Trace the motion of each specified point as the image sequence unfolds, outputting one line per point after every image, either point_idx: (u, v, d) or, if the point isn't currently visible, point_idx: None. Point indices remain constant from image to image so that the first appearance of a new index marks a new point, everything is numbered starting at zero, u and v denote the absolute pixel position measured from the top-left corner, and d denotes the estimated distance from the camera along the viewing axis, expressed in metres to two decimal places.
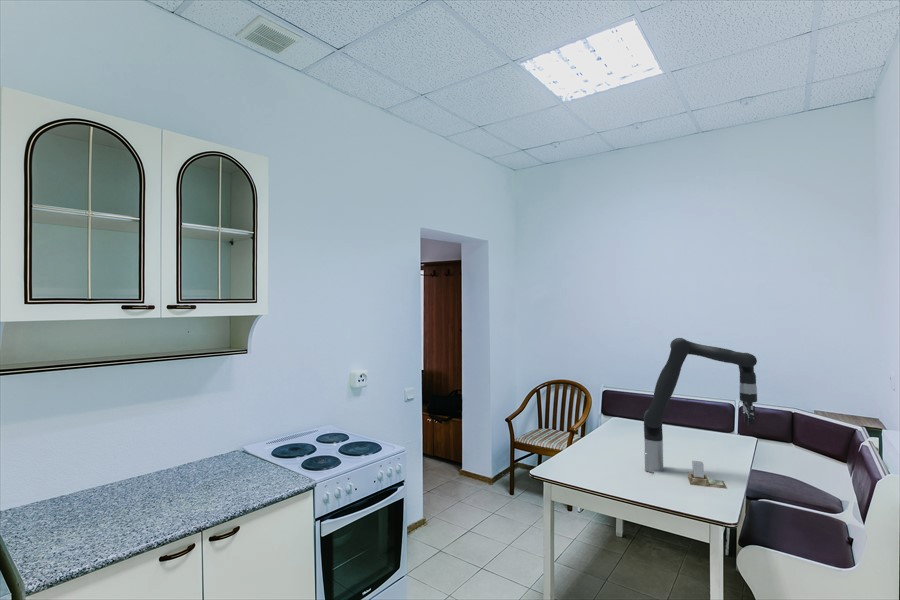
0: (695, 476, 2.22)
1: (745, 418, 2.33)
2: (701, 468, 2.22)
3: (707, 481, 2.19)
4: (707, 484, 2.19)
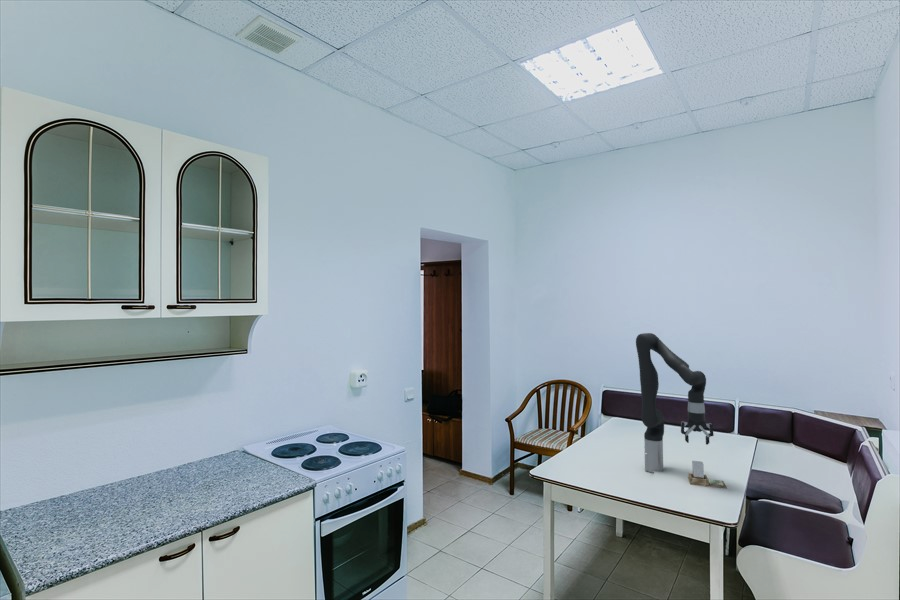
0: (695, 476, 2.22)
1: None
2: (701, 468, 2.22)
3: (707, 481, 2.19)
4: (707, 484, 2.19)
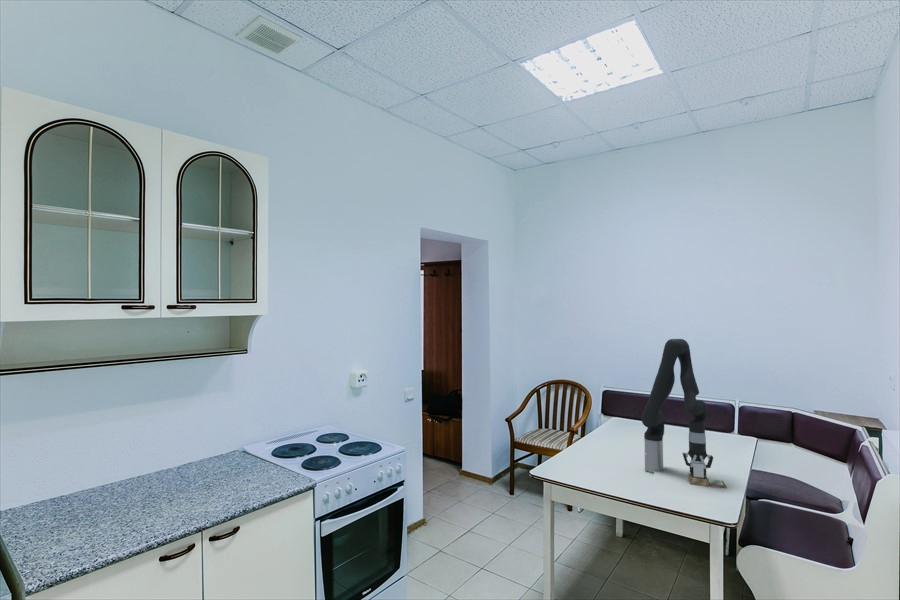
0: (695, 476, 2.22)
1: None
2: (701, 468, 2.22)
3: (707, 481, 2.19)
4: (707, 484, 2.19)
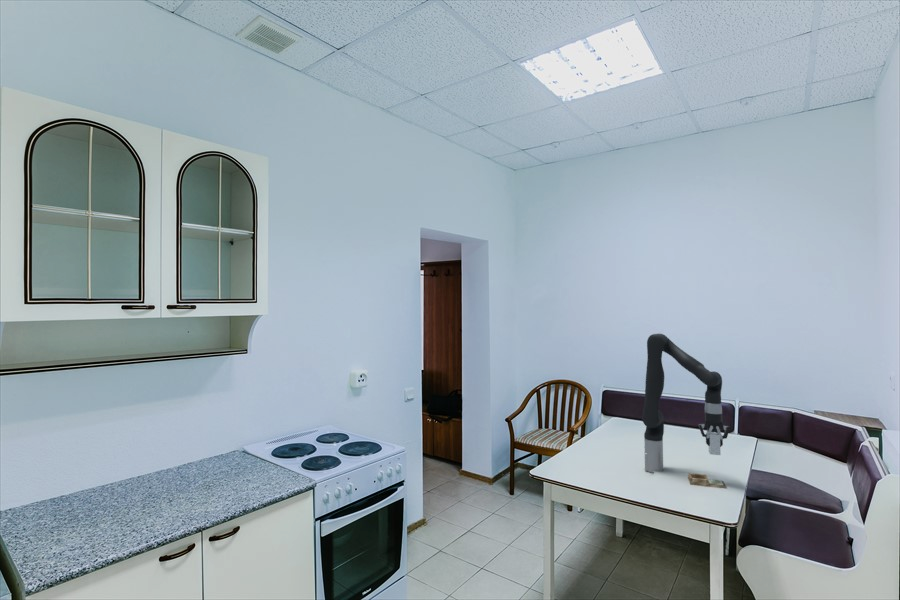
0: (711, 446, 2.23)
1: None
2: (717, 439, 2.22)
3: (707, 481, 2.19)
4: (707, 484, 2.19)
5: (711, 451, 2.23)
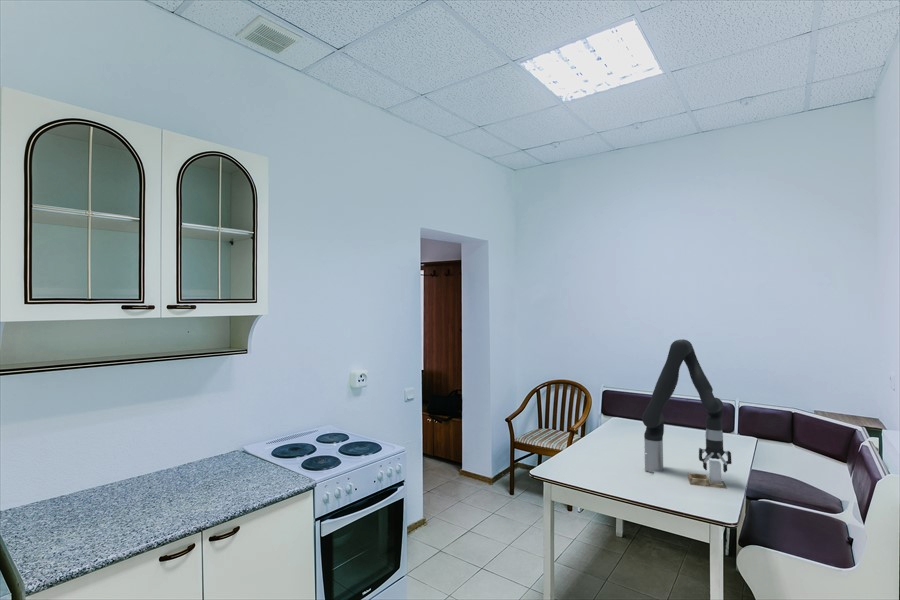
0: (712, 475, 2.22)
1: None
2: (718, 468, 2.21)
3: (707, 481, 2.19)
4: (707, 484, 2.19)
5: (712, 480, 2.22)
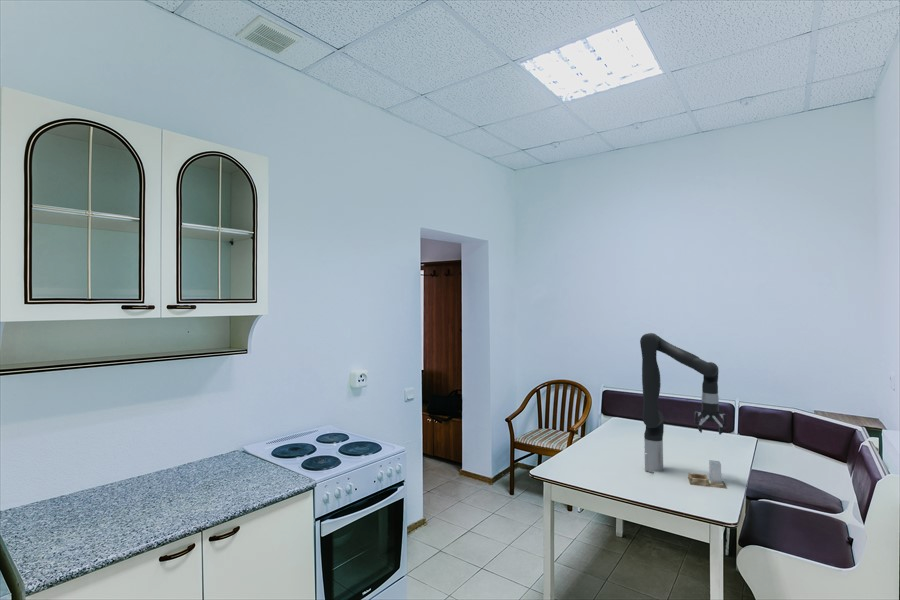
0: (712, 475, 2.22)
1: (701, 429, 2.30)
2: (718, 468, 2.21)
3: (707, 481, 2.19)
4: (707, 484, 2.19)
5: (712, 480, 2.22)
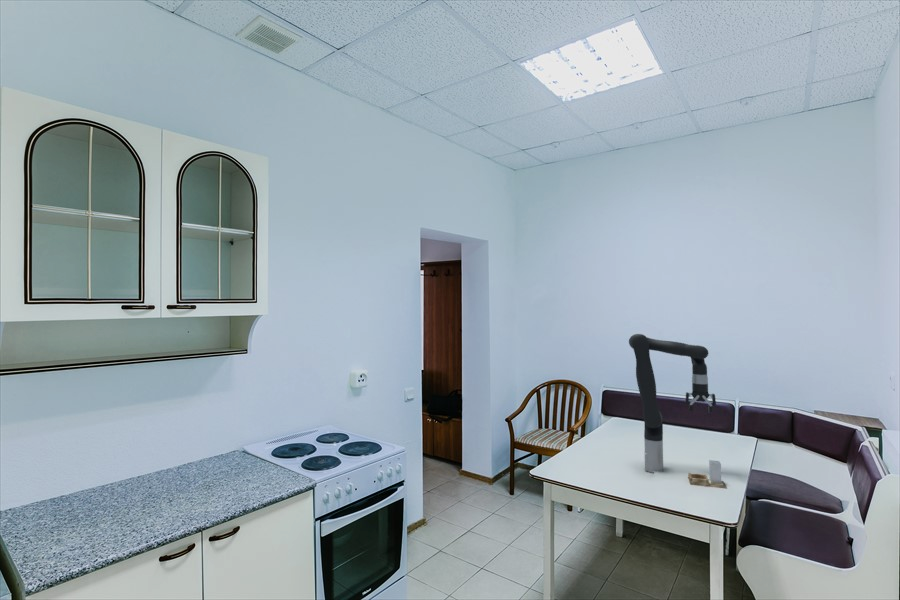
0: (712, 475, 2.22)
1: None
2: (718, 468, 2.21)
3: (707, 481, 2.19)
4: (707, 484, 2.19)
5: (712, 480, 2.22)
